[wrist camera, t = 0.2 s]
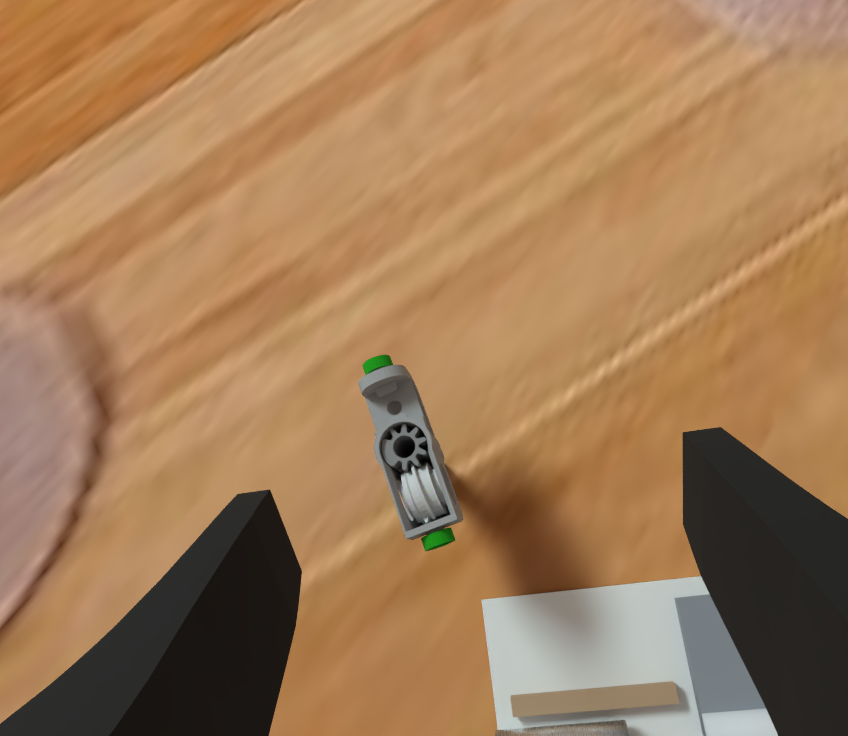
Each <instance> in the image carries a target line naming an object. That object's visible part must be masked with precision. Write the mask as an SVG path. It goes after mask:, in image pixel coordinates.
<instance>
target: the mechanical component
mask: <svg viewBox="0 0 848 736" xmlns="http://www.w3.org/2000/svg"><path fill="white" fill-rule="evenodd" d="M363 369H364V372H365V374H366V375H365V376H364V377H362V378H361V379H360V381H359V387H360V390H361V393H362V395H363V396H364V397H365V399H366V402H367V405H368V408H369V411H370V414H371V417H372V420H373V423H374V426H375V429H376V432H377V433H375V436H376V439H375V444H374V450H375V455H376V459H377V460H378V462H379V464H380V465H381V466H382V468H383V471H384V474H385V477H386V480H387V483H388V486H389V489H390V492H391V495H392V498H393V501H394V504H395V507H396V510H397V513H398V516H399V519H400V522H401V525H402V528H403V531H404V534H405V537H406V539H411V540H414V539H416V538H419V537H421V536H424V535H426V536H424V537H422V538H421V540H422V543H423V545H424V548H425V551H429V550H433V549H436V548H439V547H442V546H444V545H447V544H449V543H451V542H453V541H455V538H454V535H453V532H452V529H451V528H446V529H444V528H445V527H448V526H450V525H453V524H456V523H458V522H461V520H463V515H462V511H461V508H460V505H459V502H458V499H457V496H456V494H455V491H454V488H453V485H452V483H451V480H450V477H449V474H448V472H447V469H446V466H445V463H444V456H443V452H442V450H441V448H440V445H439V443H438V441H437V439H436V438H435V436H434V433H433V430H432V428H431V425H430V422H429V420H428V417H427V414H426V411H425V409H424V406H423V403H422V400H421V398H420V395H419V392H418V390H417V387H416V385H415V383H414V381H413V379H412V377H411V375H410V373H409V372H408V371H407V369H406V368H405V367H404V366H403V365H393V363H392V361H391V358H390V356H388V355H380V356H376V357H373V358H371V359H369V360H367V361H366V362H365V363H364V364H363ZM398 490H399V491H398ZM399 492H400V494H401V497H402V499H403V502H404V505H405V508H406V511H407V513H406V511H405V509H404V506H403V504H402V501H401V498H400V495H399Z"/></svg>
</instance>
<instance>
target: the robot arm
mask: <svg viewBox="0 0 848 736" xmlns="http://www.w3.org/2000/svg"><path fill="white" fill-rule="evenodd" d="M683 525H684V528H685V531H686V534H687V537H688V540H689V543H690V546H691V549H692V552H693V555H694V558H695V560H696V563H697V566H698V569H699V571H700V574H701V577H702V579H703V581H704V584H705V586H706V588H707V590H708V592H709V594H710V596H711V598H712V600H713V602H714V604H715V606H716V608H717V610H718V612H719V614H720V616H721V618H722V620H723V622H724V624H725V626H726V628H727V630H728V632H729V634H730V636H731V638H732V641H733V643H734V645H735V647H736V649H737V651H738V653H739V655H740V657H741V659H742V661H743V663H744V665H745V667H746V669H747V671H748V673H749V675H750V677H751V679H752V681H753V683H754V685H755V687H756V689H757V691H758V693H759V695H760V697H761V699H762V701H763V703H764V705H765V707H766V709H767V712H768V714H769V716H770V718H771V720H772V723H773V725H774V727H775V729H776V732H777V734H778V736H848V519H847V518H846V517H844V516H842V515H841V514H839V513H838V512H836V511H835V510H833V509H832V508H830V507H829V506H827V505H826V504H825V503H823V502H822V501H820V500H819V499H817V498H816V497H814V496H813V495H812V494H810V493H809V492H807V491H806V490H804V489H803V488H802V487H800V486H799V485H797V484H796V483H795V482H793V481H792V480H790V479H789V478H788V477H786V476H785V475H784V474H782V473H781V472H780V471H778V470H777V469H776V468H774V467H773V466H772V465H770V464H769V463H768V462H766V461H765V460H764V459H762V458H761V457H760V456H758V455H757V454H756V453H754V452H753V451H752V450H750V449H749V448H748V447H746V446H745V445H744V444H742V443H741V442H740V441H738V440H737V439H736V438H734V437H733V436H732V435H730V434H729V433H728V432H726V431H725V430H724V429H722V428H721V427H718V428H711V429H704V430H696V431H689V432H683ZM301 574H302V571H301V568H300V565H299V563H298V560H297V558H296V555H295V553H294V550H293V547H292V545H291V542H290V540H289V537H288V535H287V532H286V529H285V527H284V524H283V522H282V519H281V517H280V514H279V511H278V509H277V506H276V504H275V501H274V499H273V496H272V493H271V491H270V490H264V491H257V492H249V493H242V494H237V495H236V497H235V498H234V499H233V500H232V501H231V502H230V503H229V504H228V505H227V506H226V507H225V508H224V509H223V510H222V511H221V513H220V514H219V515H218V516H217V517H216V518H215V519H214V520H213V522H212V523H211V524H210V525H209V526H208V527H207V528H206V529H205V531H204V532H203V533H202V534H201V535H200V536H199V537H198V539H197V540H196V541H195V542H194V543H193V544H192V545H191V546H190V548H189V549H188V550H187V551H186V552H185V553H184V554H183V555H182V556H181V557H180V559H179V560H178V561H177V562H176V563H175V564H174V565H173V566H172V567H171V569H170V570H169V571H168V572H167V573H166V574H165V575H164V576H163V577H162V579H161V580H160V581H159V582H158V583H157V584H156V585H155V586H154V587H153V588H152V589H151V590H150V591H149V592H148V593H147V594H146V595H145V596H144V597H143V598H142V599H141V600H140V601H139V602H138V603H137V604H136V605H135V606H134V607H133V608H132V609H131V610H130V611H129V612H128V613H127V614H126V615H125V617H124V618H123V619H122V620H121V621H120V622H119V623H118V624H117V625H116V626H115V627H114V628H113V629H112V630H111V631H109V632H108V633H107V634H106V635H105V636H104V637H103V638H102V639H101V640H100V641H99V642H98V643H97V644H96V645H95V646H93V647H92V648H91V649H90V650H89V651H88V652H87V653H86V654H85V655H84V656H82V657H81V658H80V659H79V660H78V661H77V662H76V663H74V664H73V665H72V666H71V667H70V668H69V669H68V670H66V671H65V672H64V673H63V674H62V675H61V676H60V677H58V678H57V679H56V680H55V681H54V682H52V683H51V684H50V685H49V686H48V687H46V688H45V689H44V690H43V691H41V692H40V693H39V694H38V695H36V696H35V697H34V698H32V699H31V700H30V701H29V702H27V703H26V704H25V705H24V706H22V707H21V708H20V709H18V710H17V711H16V712H15V713H13V714H12V715H11V716H10V717H8V718H7V719H6V720H4V721H3V722H2V723H1V724H0V736H269V732H270V728H271V724H272V720H273V716H274V712H275V708H276V704H277V700H278V696H279V692H280V688H281V684H282V680H283V676H284V672H285V668H286V664H287V660H288V656H289V652H290V647H291V643H292V639H293V635H294V631H295V626H296V619H297V612H298V604H299V595H300V584H301Z"/></svg>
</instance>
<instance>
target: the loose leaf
mask: <svg viewBox="0 0 848 736" xmlns="http://www.w3.org/2000/svg"><path fill="white" fill-rule="evenodd" d="M495 736H629V732H628V728H627V724H626V721H625V720H615V721H602V722H590V723H577V724H565V725H552V726H540V727H527V728H515V729H502V730H496V733H495Z"/></svg>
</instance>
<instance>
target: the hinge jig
mask: <svg viewBox="0 0 848 736" xmlns="http://www.w3.org/2000/svg"><path fill="white" fill-rule="evenodd" d="M482 607H483V615H484V623H485V631H486V639H487V647H488V655H489V663H490V670H491V678H492V686H493V694H494V702H495V710H496V718H497V726H498V730H502V729H515V728H527V727H540V726H552V725H565V724H577V723H590V722H602V721H615V720H625V721H626V724H627V728H628V732H629V736H778V734H777V732H776V729H775V727H774V725H773V723H772V720H771V718H770V716H769V714H768V712H767V709H766V707H765V705H764V703H763V701H762V699H761V697H760V695H759V693H758V691H757V689H756V687H755V685H754V683H753V681H752V679H751V677H750V675H749V673H748V671H747V669H746V667H745V665H744V663H743V661H742V659H741V657H740V655H739V653H738V651H737V649H736V647H735V645H734V643H733V641H732V638H731V636H730V634H729V632H728V630H727V628H726V626H725V624H724V622H723V620H722V618H721V616H720V614H719V612H718V610H717V608H716V606H715V604H714V602H713V600H712V598H711V596H710V594H709V592H708V590H707V588H706V586H705V584H704V581H703V579H702V577H701V576H698V577H689V578H680V579H670V580H661V581H652V582H642V583H633V584H624V585H614V586H605V587H595V588H586V589H577V590H567V591H558V592H549V593H539V594H530V595H521V596H511V597H502V598H493V599H483V600H482Z"/></svg>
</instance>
